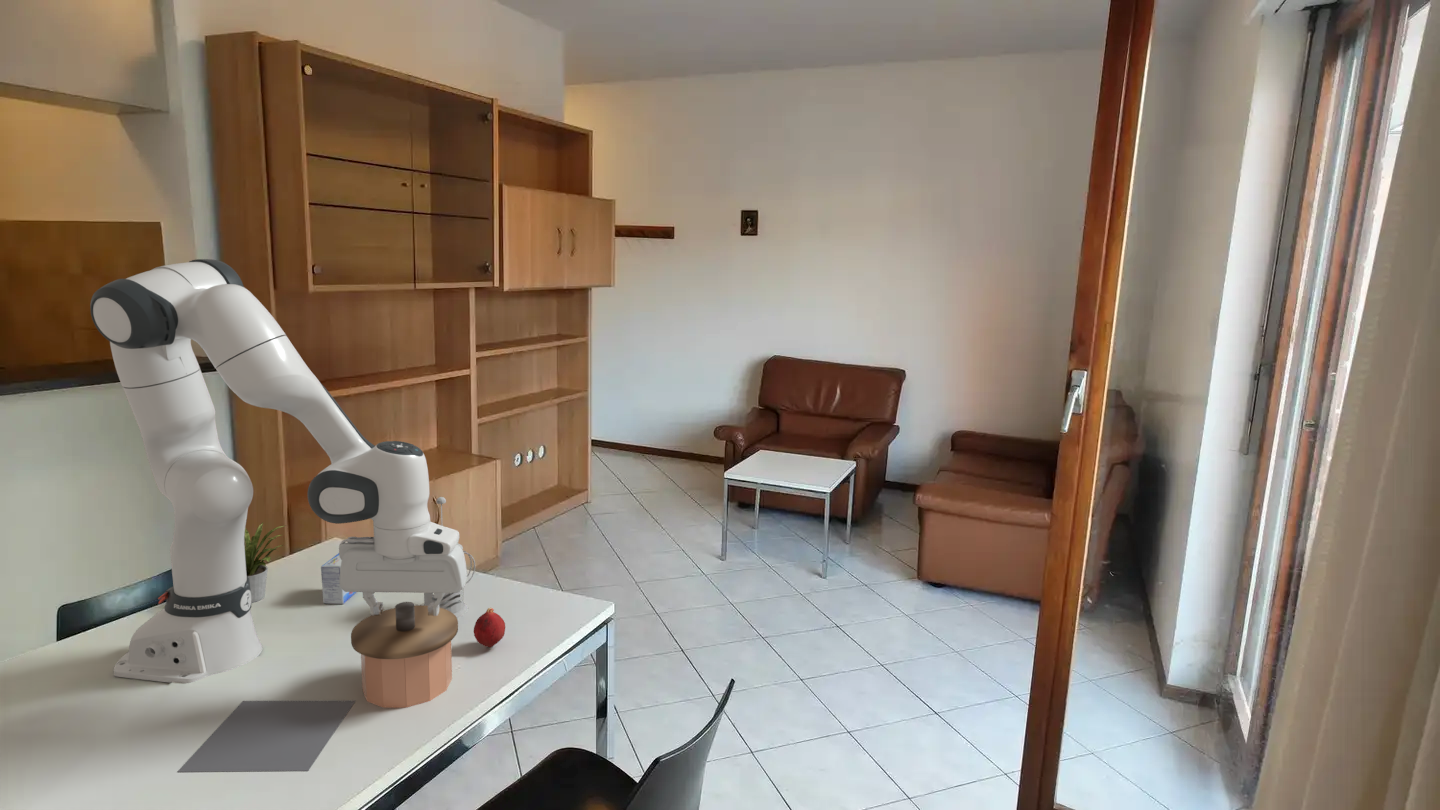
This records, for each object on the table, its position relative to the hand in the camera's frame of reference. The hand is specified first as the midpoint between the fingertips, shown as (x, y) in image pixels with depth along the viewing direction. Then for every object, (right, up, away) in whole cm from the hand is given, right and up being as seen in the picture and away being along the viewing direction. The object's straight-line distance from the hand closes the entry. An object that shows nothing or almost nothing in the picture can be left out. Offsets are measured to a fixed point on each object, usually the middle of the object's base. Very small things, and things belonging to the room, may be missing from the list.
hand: (405, 614), depth 134 cm
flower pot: (-1, -13, +3) cm, 14 cm away
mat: (-15, -16, -12) cm, 25 cm away
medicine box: (-28, -6, +36) cm, 46 cm away
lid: (0, -4, +1) cm, 4 cm away
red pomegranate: (+9, -11, +17) cm, 23 cm away
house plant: (-45, -6, +34) cm, 56 cm away
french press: (-4, -8, +32) cm, 33 cm away
